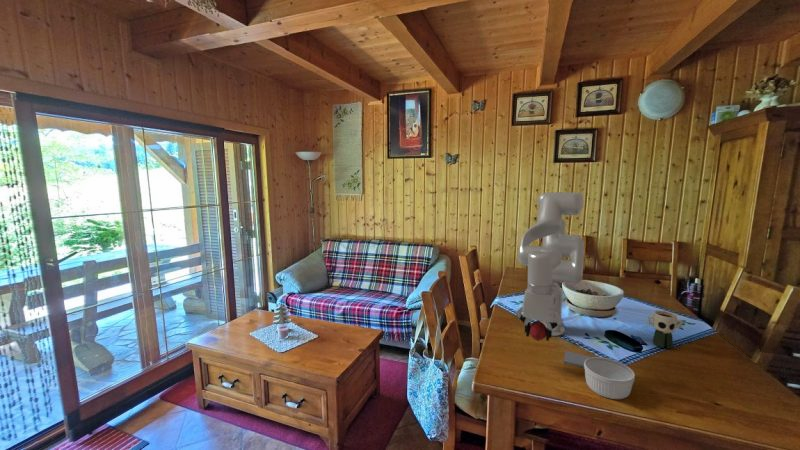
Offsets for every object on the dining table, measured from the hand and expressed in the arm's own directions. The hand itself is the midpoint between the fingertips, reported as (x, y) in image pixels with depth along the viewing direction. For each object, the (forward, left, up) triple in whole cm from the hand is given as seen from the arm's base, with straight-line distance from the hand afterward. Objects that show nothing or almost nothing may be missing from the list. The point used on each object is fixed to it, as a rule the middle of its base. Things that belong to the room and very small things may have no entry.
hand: (537, 336), depth 113 cm
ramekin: (+3, +21, -11) cm, 24 cm away
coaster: (-10, +12, -11) cm, 19 cm away
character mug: (-38, +40, -11) cm, 56 cm away
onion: (0, 0, -2) cm, 2 cm away
